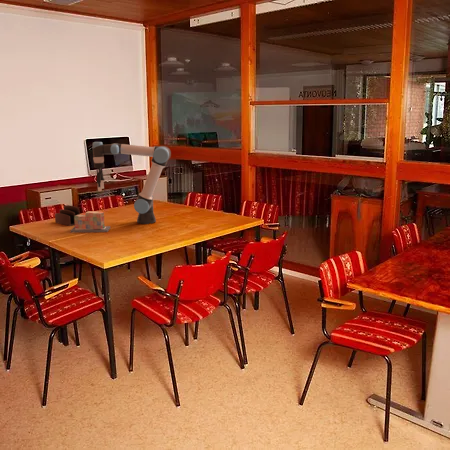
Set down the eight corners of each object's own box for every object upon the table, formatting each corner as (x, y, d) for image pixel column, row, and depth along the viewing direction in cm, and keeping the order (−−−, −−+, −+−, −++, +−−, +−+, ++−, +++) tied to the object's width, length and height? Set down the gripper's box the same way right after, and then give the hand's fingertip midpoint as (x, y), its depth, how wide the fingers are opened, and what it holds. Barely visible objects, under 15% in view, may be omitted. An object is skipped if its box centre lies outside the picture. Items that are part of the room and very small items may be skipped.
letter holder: (65, 221, 405) (64, 204, 402) (80, 224, 393) (79, 206, 390) (55, 223, 397) (53, 205, 394) (70, 226, 385) (69, 208, 382)
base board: (110, 228, 379) (110, 225, 378) (107, 232, 366) (107, 229, 366) (74, 228, 377) (74, 226, 377) (70, 232, 365) (70, 230, 364)
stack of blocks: (74, 228, 370) (73, 212, 368) (78, 226, 376) (77, 210, 374) (101, 229, 366) (100, 213, 364) (104, 227, 372) (104, 211, 370)
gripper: (96, 161, 389) (98, 187, 393) (91, 164, 365) (93, 192, 369) (105, 160, 390) (108, 187, 394) (101, 163, 365) (103, 192, 370)
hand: (101, 189), depth 382 cm, fingers open, 13 cm apart
